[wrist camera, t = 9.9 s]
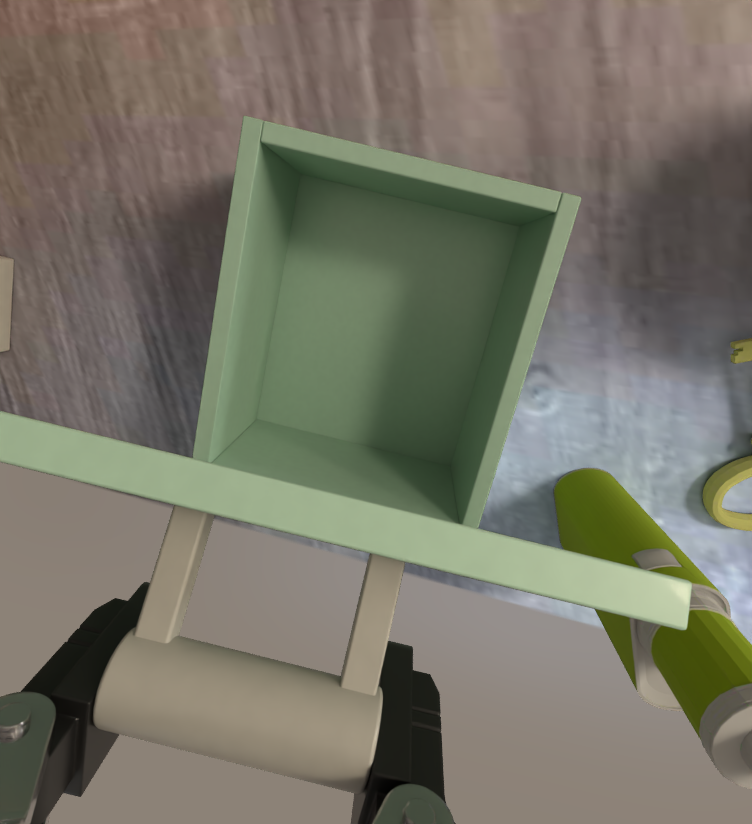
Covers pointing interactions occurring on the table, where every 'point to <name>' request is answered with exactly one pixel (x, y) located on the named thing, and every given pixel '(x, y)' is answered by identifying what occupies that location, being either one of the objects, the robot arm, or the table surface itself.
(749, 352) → the key
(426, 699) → the robot arm
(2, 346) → the white power adapter
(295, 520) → the lid
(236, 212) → the box
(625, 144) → the table surface
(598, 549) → the vape
